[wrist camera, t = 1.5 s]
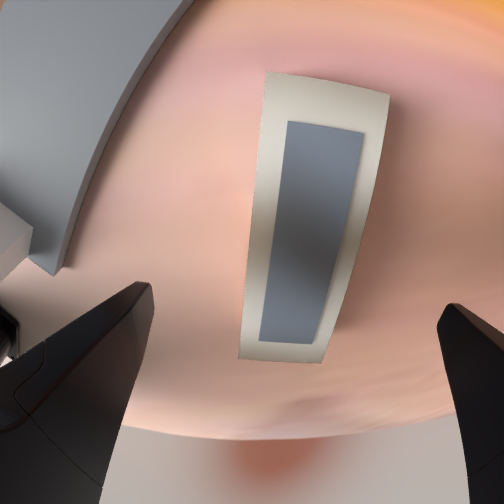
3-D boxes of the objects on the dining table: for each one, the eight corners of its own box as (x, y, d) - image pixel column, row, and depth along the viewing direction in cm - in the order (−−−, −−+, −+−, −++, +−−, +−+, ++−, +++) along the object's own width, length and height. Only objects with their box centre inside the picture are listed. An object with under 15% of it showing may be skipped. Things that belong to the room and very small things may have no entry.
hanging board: (62, 267, 15) (25, 310, 11) (-38, 187, 12) (-78, 213, 9) (251, -62, 7) (246, -110, 3) (89, -96, 4) (52, -122, 1)
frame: (313, 322, 16) (321, 365, 14) (242, 317, 16) (238, 361, 14) (362, 93, 11) (392, 94, 8) (265, 77, 11) (265, 71, 8)
